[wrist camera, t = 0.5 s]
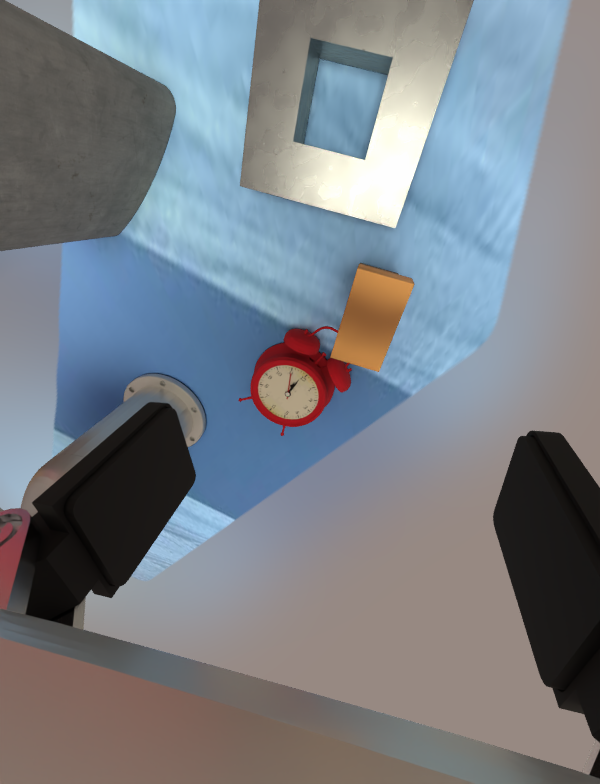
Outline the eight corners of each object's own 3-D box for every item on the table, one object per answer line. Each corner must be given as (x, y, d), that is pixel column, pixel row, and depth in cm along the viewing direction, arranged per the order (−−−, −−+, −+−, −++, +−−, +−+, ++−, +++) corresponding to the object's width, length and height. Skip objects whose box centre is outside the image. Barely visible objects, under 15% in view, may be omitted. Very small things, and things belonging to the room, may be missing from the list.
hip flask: (153, 73, 30) (-153, -99, 13) (189, 110, 30) (-53, -4, 13) (92, 221, 37) (-147, 238, 20) (122, 248, 38) (-83, 285, 21)
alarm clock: (225, 397, 41) (290, 324, 31) (248, 369, 46) (311, 297, 36) (288, 447, 43) (369, 393, 33) (304, 416, 48) (379, 360, 38)
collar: (393, 225, 31) (395, 228, 28) (254, 187, 32) (239, 185, 29) (465, 15, 24) (478, -15, 21) (281, -26, 25) (266, -62, 21)
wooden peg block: (379, 324, 36) (378, 372, 26) (344, 313, 37) (330, 357, 26) (404, 258, 33) (414, 284, 22) (365, 247, 33) (357, 268, 23)
